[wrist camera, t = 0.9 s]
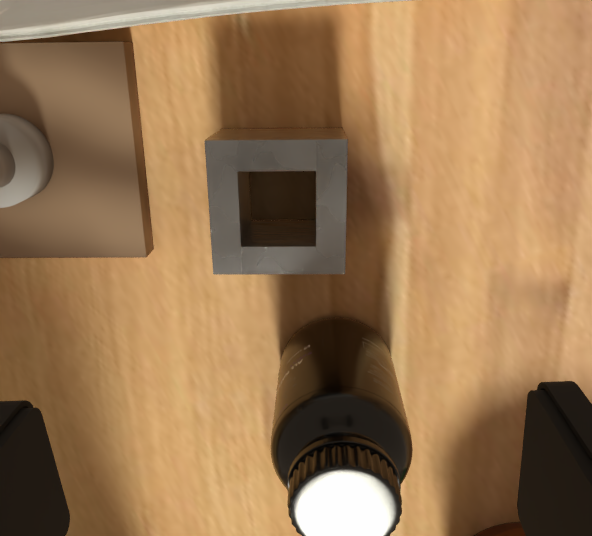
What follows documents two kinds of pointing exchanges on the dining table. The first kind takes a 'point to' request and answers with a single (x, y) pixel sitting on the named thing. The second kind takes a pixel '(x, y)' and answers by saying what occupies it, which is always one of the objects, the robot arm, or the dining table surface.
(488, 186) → the dining table surface
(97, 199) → the shaft block
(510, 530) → the food container
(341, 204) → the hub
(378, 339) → the supplement bottle
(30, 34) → the square plate
